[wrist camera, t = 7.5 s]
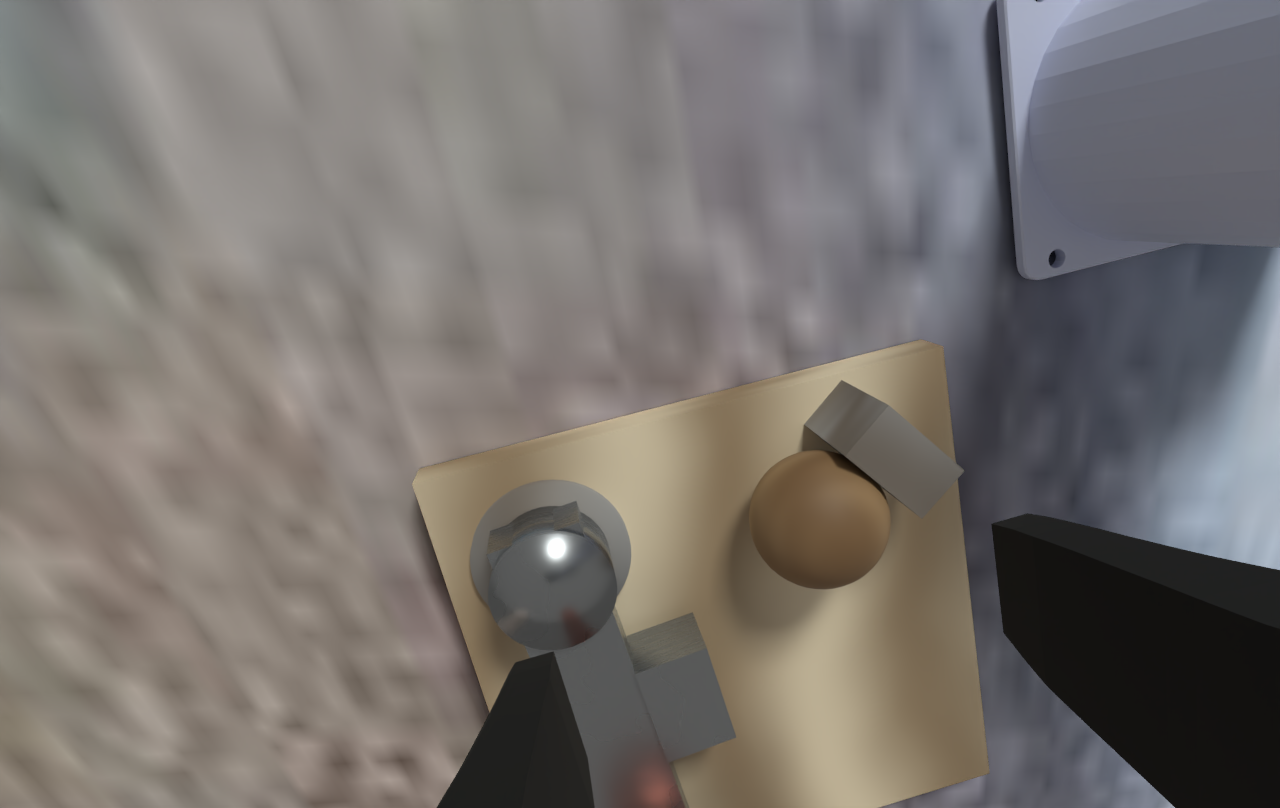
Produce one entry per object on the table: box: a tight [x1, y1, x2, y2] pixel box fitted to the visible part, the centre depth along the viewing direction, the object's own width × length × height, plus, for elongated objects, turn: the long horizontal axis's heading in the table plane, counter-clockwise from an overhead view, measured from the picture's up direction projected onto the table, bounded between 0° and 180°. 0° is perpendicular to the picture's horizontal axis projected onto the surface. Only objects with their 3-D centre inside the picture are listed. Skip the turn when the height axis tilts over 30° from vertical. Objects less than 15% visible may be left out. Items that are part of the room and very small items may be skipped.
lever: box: [487, 501, 736, 808], centre depth 19 cm, size 5×13×5 cm, turn 18°
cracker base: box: [412, 340, 989, 808], centre depth 20 cm, size 15×15×5 cm
